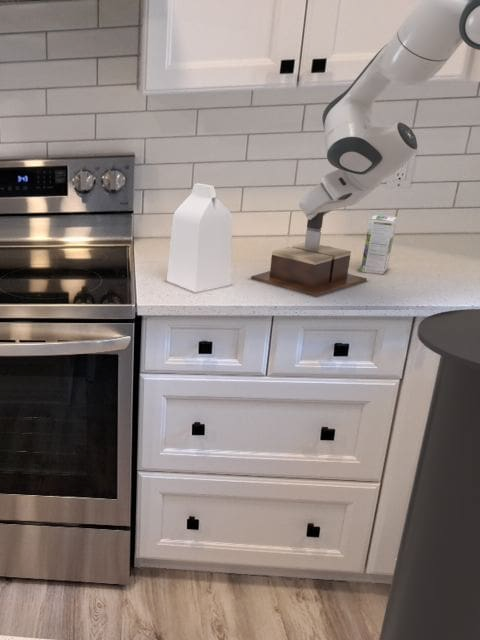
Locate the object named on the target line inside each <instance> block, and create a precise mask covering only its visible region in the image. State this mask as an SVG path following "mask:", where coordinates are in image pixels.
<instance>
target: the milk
mask: <svg viewBox="0 0 480 640" xmlns="http://www.w3.org/2000/svg"><path fill="white" fill-rule="evenodd" d="M171 224H172V225H171V234H170V244H169V254H168V264H167V275H166V282H168V283H171V284H174V285H176V286H179V287H181V288H184V289H186V290H189V291H191V292H194V293H199V292H203V291H207V290H212V289H217V288H222V287H227V286H231V285H232V249H233V247H232V245H233V243H232V241H233V215H232V212H231V211H230V210H229V209H228V208H227V207H226V205H224V204H223V202H221V201H220V200H219V199H218V198H217V193H216V189H215V186H214V185H211V184H205V183H201V182H197V183H194V184H193V186H192V189H191V193H190V195H188V196H187V198H185V200H184V201H183V202H182V203H181V204H180V205H179V206H178V207H177V209H175V211H174V213H173V215H172V223H171Z"/></svg>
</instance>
